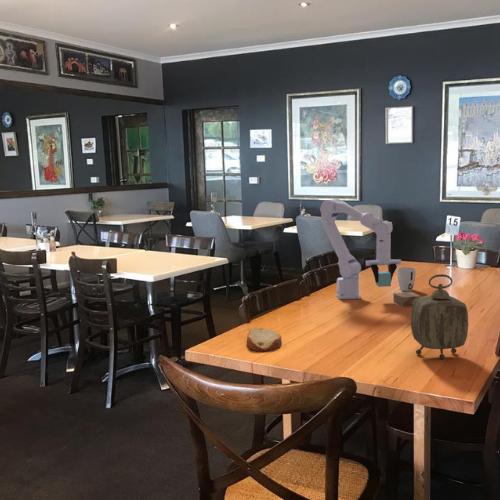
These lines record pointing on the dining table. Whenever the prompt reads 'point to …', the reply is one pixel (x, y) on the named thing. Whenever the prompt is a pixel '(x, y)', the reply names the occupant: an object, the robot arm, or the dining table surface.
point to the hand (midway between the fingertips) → (383, 281)
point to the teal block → (384, 279)
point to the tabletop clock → (439, 320)
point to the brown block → (405, 298)
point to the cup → (406, 278)
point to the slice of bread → (263, 339)
